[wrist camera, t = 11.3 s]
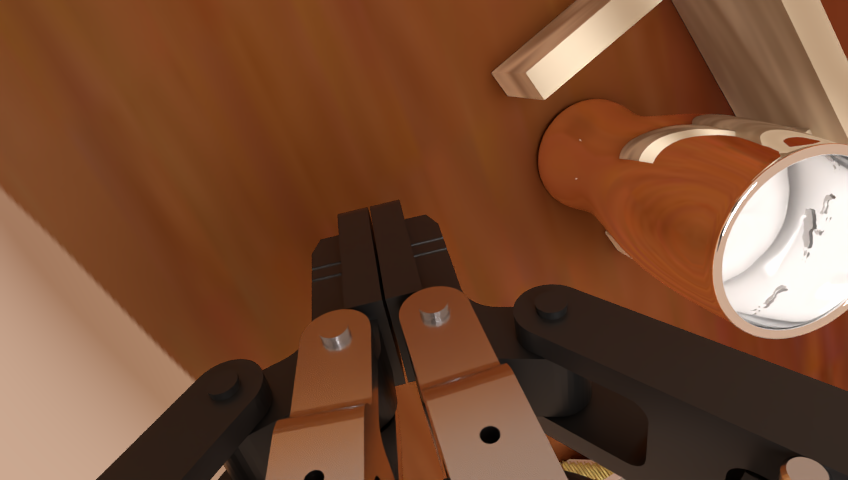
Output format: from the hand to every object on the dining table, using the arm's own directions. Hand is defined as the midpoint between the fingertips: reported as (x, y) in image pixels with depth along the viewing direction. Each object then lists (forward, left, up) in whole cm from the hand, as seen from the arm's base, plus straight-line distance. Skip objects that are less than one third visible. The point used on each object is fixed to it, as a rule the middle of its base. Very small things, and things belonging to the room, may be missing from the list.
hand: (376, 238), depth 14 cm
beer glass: (+12, -6, -17) cm, 21 cm away
